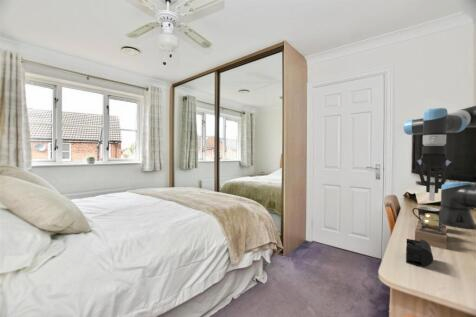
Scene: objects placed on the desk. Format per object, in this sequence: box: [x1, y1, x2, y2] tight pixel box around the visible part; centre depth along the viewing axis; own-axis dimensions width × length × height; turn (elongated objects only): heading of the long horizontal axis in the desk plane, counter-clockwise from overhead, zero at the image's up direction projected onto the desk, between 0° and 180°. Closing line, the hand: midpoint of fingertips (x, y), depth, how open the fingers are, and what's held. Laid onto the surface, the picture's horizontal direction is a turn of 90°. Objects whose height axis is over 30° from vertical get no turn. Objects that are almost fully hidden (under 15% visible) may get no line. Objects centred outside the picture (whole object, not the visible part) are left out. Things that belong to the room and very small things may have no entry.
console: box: [414, 219, 448, 250], centre depth 100 cm, size 20×10×6 cm, turn 138°
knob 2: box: [423, 218, 439, 227], centre depth 96 cm, size 5×5×2 cm
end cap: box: [405, 238, 434, 268], centre depth 80 cm, size 10×7×7 cm
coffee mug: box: [412, 206, 440, 221], centre depth 117 cm, size 12×9×10 cm
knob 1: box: [425, 213, 439, 221], centre depth 104 cm, size 5×5×2 cm
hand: (431, 200), depth 96 cm, fingers closed
